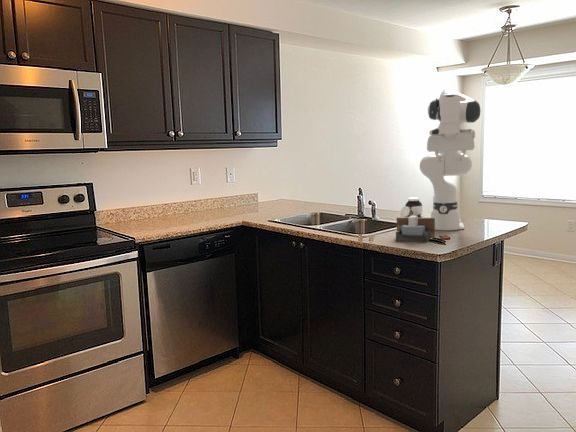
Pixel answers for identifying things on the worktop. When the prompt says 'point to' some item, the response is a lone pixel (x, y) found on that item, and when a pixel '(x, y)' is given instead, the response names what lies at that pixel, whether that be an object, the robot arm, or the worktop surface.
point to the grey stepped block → (413, 227)
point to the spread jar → (412, 208)
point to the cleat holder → (428, 234)
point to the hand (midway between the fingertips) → (450, 161)
